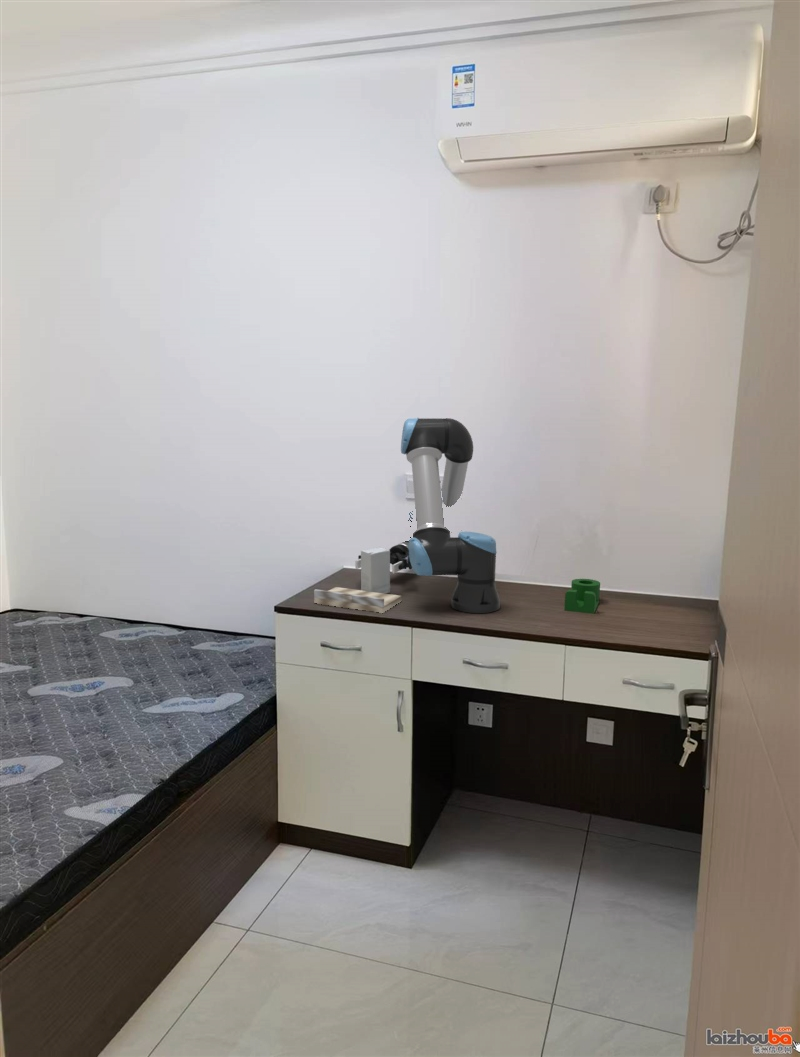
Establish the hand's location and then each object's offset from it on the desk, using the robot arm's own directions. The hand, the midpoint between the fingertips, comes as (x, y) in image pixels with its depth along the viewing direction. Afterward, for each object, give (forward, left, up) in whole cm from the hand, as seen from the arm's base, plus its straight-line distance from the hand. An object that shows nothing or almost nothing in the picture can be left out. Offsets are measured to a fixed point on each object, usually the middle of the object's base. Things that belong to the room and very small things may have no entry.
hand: (374, 567), depth 252 cm
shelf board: (0, +13, -9) cm, 15 cm away
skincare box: (0, 0, -9) cm, 9 cm away
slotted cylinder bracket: (-65, -18, -9) cm, 69 cm away
